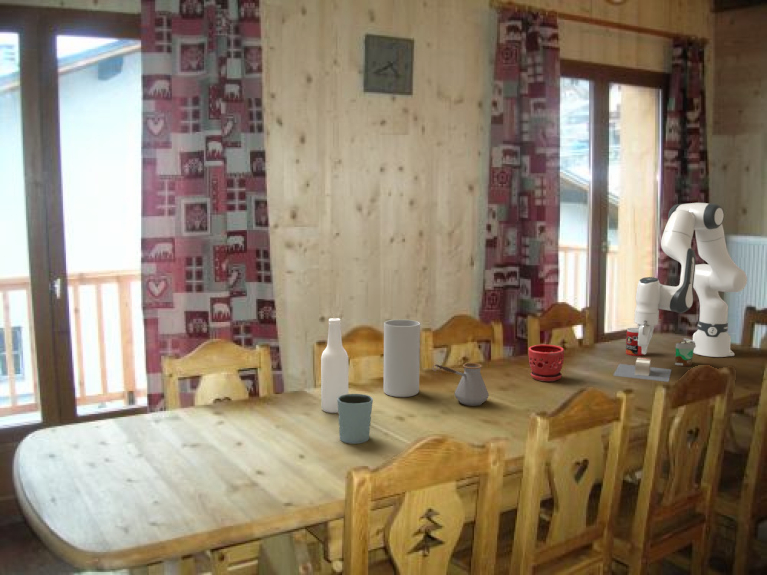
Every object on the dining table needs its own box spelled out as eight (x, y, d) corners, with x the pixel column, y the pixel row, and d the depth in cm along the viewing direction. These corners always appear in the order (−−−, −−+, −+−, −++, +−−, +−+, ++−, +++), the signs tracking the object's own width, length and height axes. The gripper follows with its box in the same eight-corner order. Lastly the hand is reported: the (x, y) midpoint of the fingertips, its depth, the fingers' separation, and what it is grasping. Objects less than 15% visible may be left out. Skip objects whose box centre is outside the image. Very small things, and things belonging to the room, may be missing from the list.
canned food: (621, 353, 317) (623, 328, 315) (635, 351, 320) (636, 327, 318) (634, 357, 310) (635, 331, 308) (648, 355, 313) (650, 330, 311)
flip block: (637, 357, 287) (635, 361, 280) (651, 358, 285) (649, 363, 278) (636, 369, 288) (634, 374, 280) (650, 371, 286) (648, 375, 278)
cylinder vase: (378, 389, 259) (378, 320, 255) (410, 386, 263) (411, 318, 259) (391, 399, 247) (391, 327, 243) (424, 395, 251) (425, 325, 248)
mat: (619, 364, 297) (619, 363, 297) (671, 370, 288) (671, 369, 288) (613, 376, 279) (613, 375, 279) (668, 382, 270) (668, 381, 270)
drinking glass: (330, 439, 208) (330, 399, 207) (353, 429, 216) (353, 391, 215) (357, 447, 202) (357, 405, 200) (379, 437, 210) (379, 397, 208)
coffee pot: (474, 395, 252) (475, 353, 250) (495, 404, 242) (496, 360, 240) (423, 404, 242) (424, 360, 239) (443, 414, 232) (444, 368, 229)
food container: (689, 369, 290) (691, 345, 288) (674, 367, 293) (675, 343, 292) (697, 363, 299) (699, 340, 298) (682, 361, 303) (684, 338, 302)
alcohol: (315, 409, 236) (315, 318, 231) (336, 403, 242) (336, 315, 237) (333, 415, 229) (333, 322, 225) (353, 409, 235) (354, 319, 231)
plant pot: (534, 372, 283) (535, 342, 282) (567, 377, 277) (568, 346, 275) (522, 380, 272) (523, 349, 271) (556, 385, 266) (558, 353, 264)
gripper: (652, 324, 272) (650, 359, 274) (656, 315, 291) (654, 349, 293) (635, 322, 275) (632, 358, 277) (640, 314, 293) (638, 347, 295)
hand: (644, 353), depth 285 cm, fingers closed
